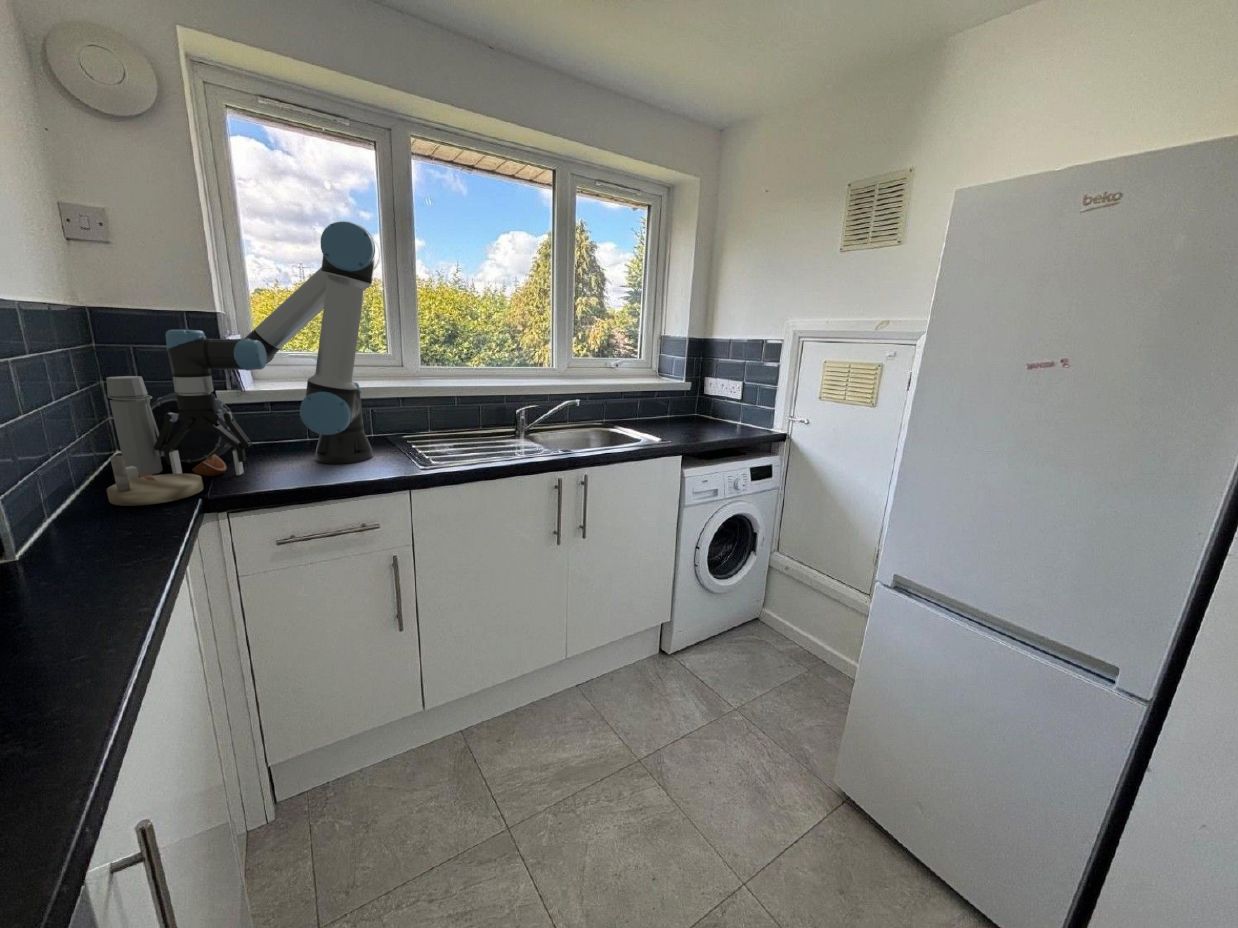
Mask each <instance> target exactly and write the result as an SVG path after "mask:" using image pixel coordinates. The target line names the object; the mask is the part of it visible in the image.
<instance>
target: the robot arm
mask: <svg viewBox="0 0 1238 928" xmlns="http://www.w3.org/2000/svg"><path fill="white" fill-rule="evenodd" d="M319 243H320V249H321V250H320V251H321V252H322V253H321V254H322V262H321V266H320V267H319V268H318V269H317V270H316V271H315V272H314V273H313V274H312V275H311V276H310V277H308V279H306V281H305V282H303V283H302V285H300V286H299V287H298V288H297V289H296V290H294V292H293V293H291V294H290V296H289V297H287V298H286V299H285V300H284V301H283V302H282V303H281V304H280V305H279V306H277V308H275V309H274V310H273V311H272V312H270V314H269V315H267V317H266V318H264V319H263V320H262V321H261V322H260V323H259V324H258V325H257V326H256V327H255V328H254V329H253V330H252V331H250V332H249V333H248V334H247V335H246V336H245V337H244V338H234V339H233V338H228V339H227V338H209V337H208V338H207V336H206V335H205V332H204V331H203V330H200V329H199V330H198V329H196V330H195V329H168V330H167V331H166V332H165V342H166V343H165V344H166V351H167V354H168V359H169V364H170V369H171V374H172V375H171V376H172V381H173V389H174V393H175V392H176V393H179V395H177V396H176V398H177V404H178V409H179V414H174V413H173V412H170V413H166V414H164V424H163V427H162V429H161V431H160V434H159V436H158V439H157V441H156V444H155V446H154V449H155V450H160V451H163V452H164V453H165V456H166V457H165V456H164V457H165V461H166V463H167V465H171V466H170V467H171V471H172V474H183V470H182V469H183V468H182V462H180V458H179V453H178V450H175V451H173V450H174V448H175V447H176V446H177V445H178V444H179V442H180V441H181V440H182V439H183V438H184V436H185V435H186V434H187V433H188V432H189V431H190V430H193V431H197V430H203V431H207V430H210V429H211V430H212V431H213V432H215V433H217V434H218V435H219V436H220V437H222V438H223V439H224V440H225V441H226V442H228V443H229V444H230V445H231V447H232V448H234V449H233V450H232V457H233V463H234V468H235V475H236V476H241V475H242V474H244V473H245V471H244V467H243V462H245V461H246V459H247V456H246V451H245V449H246V448H249V447H251V446H252V445H253V442H252V441H251V440H250V438H249V437H248V436H247V435H246V433H245V432H244V430H243V429H242V428H241V426H240V425H239V423H237V420H236V419H235V420H236V421H235V420H234V417H235V415H234V414H233V412H232V411H231V412H230V411H229V412H226V413H218V411H217V406H216V400H215V398H216V395H215V394H214V393H212V392H214V384H213V377H212V372H211V370H215V371H216V370H232V371H233V370H234V371H235V370H236V371H237V370H239V371H241V370H242V371H243V370H244V371H249V372H250V371H256V370H257V371H258V370H260V371H261V370H263V369H265V367H266V365H267V364H269V363H270V362H271V361H273V359H274V357H275V355H276V354H277V353H279V351H280V350H281V349H282V348H283V347H284V346H285V345H286V344H287V343H288V342H290V341H291V339H293V338H294V337H295V336H296V335H297V334H298V333H299V332H300V331H301V330H303V329H304V328H305V327H306V326H307V325H308V324H309V323H311V321H312V320H314V318H316V317H317V316H318V314H319V315H320V313H321V312H322V317H321V327H320V333H319V341H318V343H319V344H318V350H317V351H318V352H317V357H316V366H315V373H314V374H313V375H312V376H310V377H308V379H307V384H306V390H305V397H304V398H303V400H302V401H301V404H300V406H299V416H300V419H301V421H302V423H303V424H304V426H306V427H307V428H308V429H309V430H310V431H312V432H314V433H316V434H319V435H318V436H319V437H318V441H317V443H316V444H317V445H316V449H315V461H316V462H318V463H322V464H329V465H330V464H333V465H334V464H335V465H336V464H349V463H351V464H352V463H356V462H362V461H365V460H369V459H371V458H372V457H374V455H373V448H372V446H371V444H370V441H369V439H368V437H367V436H366V435H367V434H366V433H365V430H364V418H363V410H362V399H361V398H362V397H361V393H362V392H361V390H360V385H359V383H358V382H357V381H354V380H353V375H354V374H353V373H354V368H355V360H356V353H357V352H356V351H357V345H358V339H359V338H358V337H359V332H360V331H359V330H360V323H361V318H362V317H361V316H362V309H363V303H364V302H363V301H364V294H365V291H366V290H367V289H368V288H370V287H372V285H373V279H374V273H375V270H376V269H377V268H378V266H379V264H380V261H381V250H380V248H379V245H378V244H377V242H376V240H375V239H374V238H373V237H372V234H370V232H369V231H368V230H366V228H365V227H363V226H361V225H359V224H357V223H354V222H351V221H347V220H340V221H335V222H332V223H330V224H329V225H327V226H326V227H325V228H324V230H323V232H322V233H321V236H320V241H319ZM233 415H234V416H233ZM178 418H179V420H180V421H181V422H183V423H184V424H183V425H182V426H181V428H180V429H179V431H178V432H177V433H176V435H175V436H174V437H173V438H172V439H171V441H170V442H169V443H168V444H167V445H166V443H167V440H168V438H169V436H170V433H171V431H172V428H173V426H174V423H175V421H177V419H178ZM219 418H221V419H222V420H223V421H225V422H226V424H227V425H228V427H229V428H230V429H231V431H232V432H233V433H234V435H235V436H236V438H235V437H234V436H233V435H231V434H230V433H229V432H228V431H227V430H225V429H224V428H223V426H222V425H221V424H220V423H218V422H217V421H218V420H219Z"/></svg>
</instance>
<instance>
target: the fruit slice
mask: <svg viewBox="0 0 1238 928" xmlns="http://www.w3.org/2000/svg"><path fill="white" fill-rule="evenodd" d="M226 470H228V468H227V464H226V462H225V461H224V460H223V459H222V458H221V457H220V456H219V457H218V456H217V455H215V454H214V455H212V456H210V457H209V458H206V460H205V461H203V462H202V463H197V464H196V466H195V467H193V468H192V472H194V474H196V475H199V476H204V477H205V476H206V477H215V475H216V476H218V475H219V476H220V475H221V474H223V473H224V472H225V471H226Z"/></svg>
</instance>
